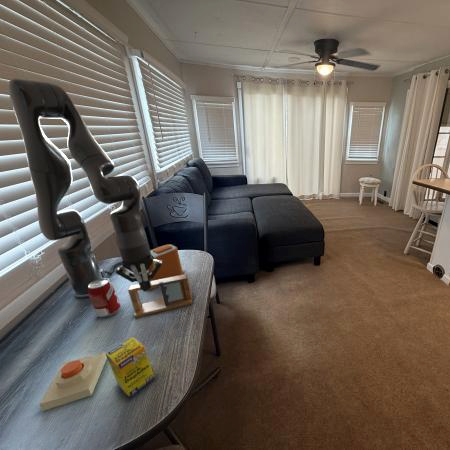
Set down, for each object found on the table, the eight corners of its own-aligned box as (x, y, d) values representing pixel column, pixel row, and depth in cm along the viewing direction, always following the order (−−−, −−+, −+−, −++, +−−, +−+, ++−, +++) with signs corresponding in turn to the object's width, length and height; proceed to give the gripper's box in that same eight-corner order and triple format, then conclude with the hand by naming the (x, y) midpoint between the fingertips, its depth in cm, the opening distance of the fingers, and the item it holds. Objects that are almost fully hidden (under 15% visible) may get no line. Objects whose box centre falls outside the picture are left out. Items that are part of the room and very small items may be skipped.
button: (67, 367, 60) (64, 362, 59) (85, 363, 61) (82, 357, 60) (60, 380, 57) (57, 375, 56) (79, 375, 58) (76, 370, 57)
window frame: (138, 306, 86) (130, 283, 83) (192, 294, 92) (187, 272, 89) (134, 317, 81) (126, 293, 78) (191, 303, 87) (186, 280, 84)
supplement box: (130, 399, 56) (116, 365, 52) (118, 386, 59) (104, 353, 55) (155, 378, 61) (144, 346, 57) (143, 367, 64) (132, 335, 60)
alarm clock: (174, 268, 111) (168, 241, 106) (184, 273, 106) (178, 246, 102) (140, 283, 100) (131, 254, 95) (149, 290, 95) (140, 260, 90)
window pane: (164, 301, 87) (157, 276, 83) (185, 296, 89) (179, 272, 85) (163, 310, 82) (155, 284, 79) (185, 305, 85) (178, 279, 81)
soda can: (108, 319, 80) (97, 290, 76) (92, 317, 82) (80, 288, 77) (125, 306, 87) (116, 278, 82) (110, 304, 88) (100, 276, 84)
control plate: (66, 369, 63) (60, 358, 62) (107, 358, 66) (102, 347, 65) (43, 410, 54) (35, 399, 52) (91, 395, 57) (86, 383, 55)
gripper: (159, 234, 78) (170, 279, 84) (110, 241, 74) (126, 288, 80) (155, 243, 72) (167, 291, 78) (102, 251, 67) (119, 301, 73)
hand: (146, 289), depth 79 cm, fingers closed
